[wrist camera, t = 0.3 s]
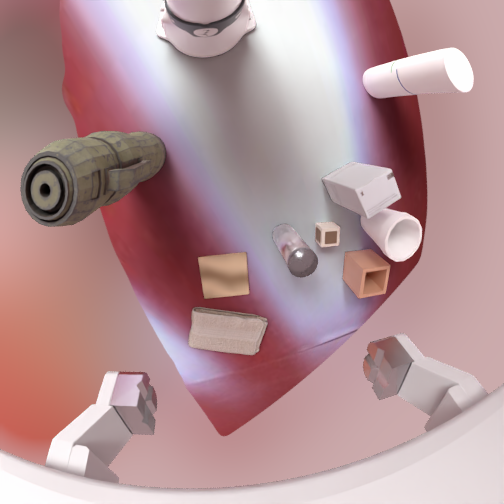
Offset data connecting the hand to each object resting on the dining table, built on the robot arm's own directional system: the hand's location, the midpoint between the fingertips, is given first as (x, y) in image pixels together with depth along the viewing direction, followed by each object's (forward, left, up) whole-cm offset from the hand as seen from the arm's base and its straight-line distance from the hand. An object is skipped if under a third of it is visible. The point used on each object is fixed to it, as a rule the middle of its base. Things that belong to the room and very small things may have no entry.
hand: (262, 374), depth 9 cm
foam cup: (+11, +33, -47) cm, 59 cm away
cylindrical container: (-20, +34, -47) cm, 62 cm away
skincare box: (+2, +25, -47) cm, 54 cm away
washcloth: (+36, -2, -48) cm, 60 cm away
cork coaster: (+21, -1, -47) cm, 52 cm away
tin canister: (+13, +12, -47) cm, 50 cm away
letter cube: (+13, +21, -47) cm, 53 cm away
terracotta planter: (+22, +30, -47) cm, 60 cm away
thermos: (-6, -14, -47) cm, 50 cm away
